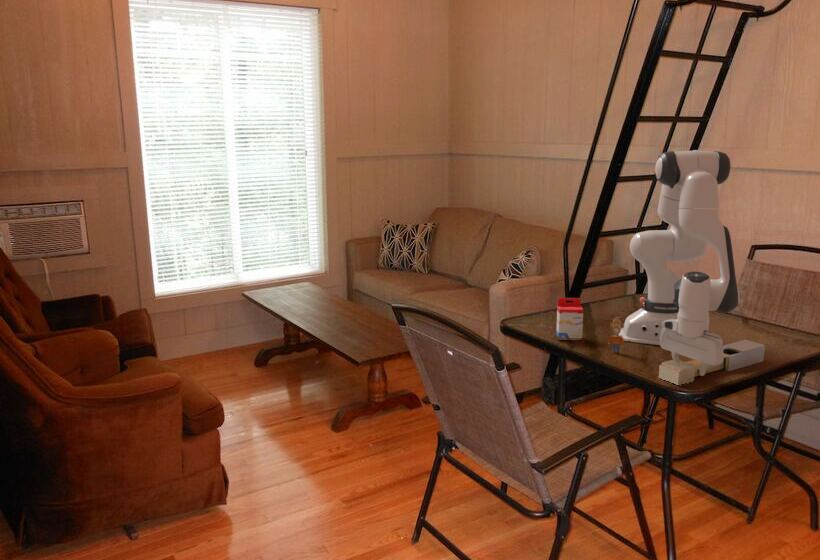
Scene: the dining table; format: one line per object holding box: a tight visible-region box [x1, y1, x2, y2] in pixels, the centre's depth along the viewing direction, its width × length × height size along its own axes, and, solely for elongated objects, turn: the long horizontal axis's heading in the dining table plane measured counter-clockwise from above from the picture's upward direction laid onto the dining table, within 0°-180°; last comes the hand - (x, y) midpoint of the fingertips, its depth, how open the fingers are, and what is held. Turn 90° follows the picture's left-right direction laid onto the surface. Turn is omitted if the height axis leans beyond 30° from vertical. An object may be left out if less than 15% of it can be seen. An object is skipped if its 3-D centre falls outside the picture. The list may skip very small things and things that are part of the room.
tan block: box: [685, 353, 729, 378], centre depth 205 cm, size 22×4×4 cm, turn 119°
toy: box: [607, 316, 625, 354], centre depth 224 cm, size 5×3×13 cm, turn 59°
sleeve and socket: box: [658, 339, 766, 386], centre depth 208 cm, size 40×7×5 cm, turn 119°
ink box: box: [555, 297, 584, 339], centre depth 240 cm, size 8×5×15 cm, turn 88°
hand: (689, 370), depth 203 cm, fingers open, 7 cm apart
